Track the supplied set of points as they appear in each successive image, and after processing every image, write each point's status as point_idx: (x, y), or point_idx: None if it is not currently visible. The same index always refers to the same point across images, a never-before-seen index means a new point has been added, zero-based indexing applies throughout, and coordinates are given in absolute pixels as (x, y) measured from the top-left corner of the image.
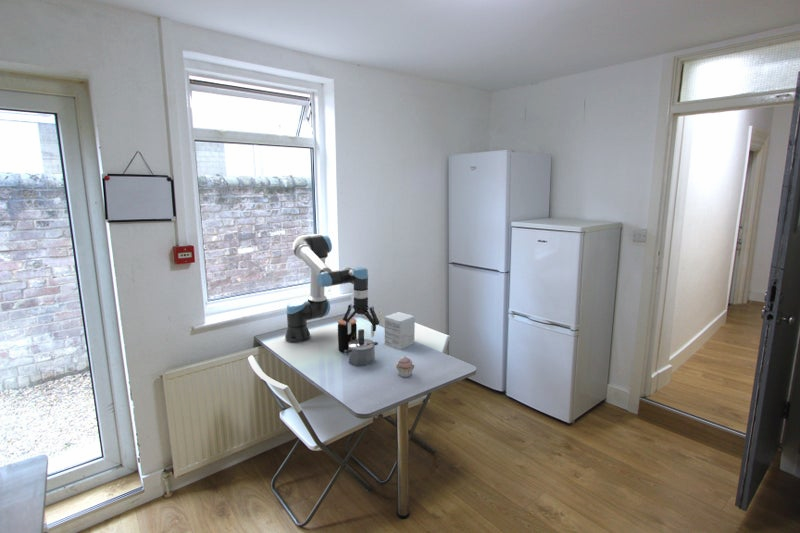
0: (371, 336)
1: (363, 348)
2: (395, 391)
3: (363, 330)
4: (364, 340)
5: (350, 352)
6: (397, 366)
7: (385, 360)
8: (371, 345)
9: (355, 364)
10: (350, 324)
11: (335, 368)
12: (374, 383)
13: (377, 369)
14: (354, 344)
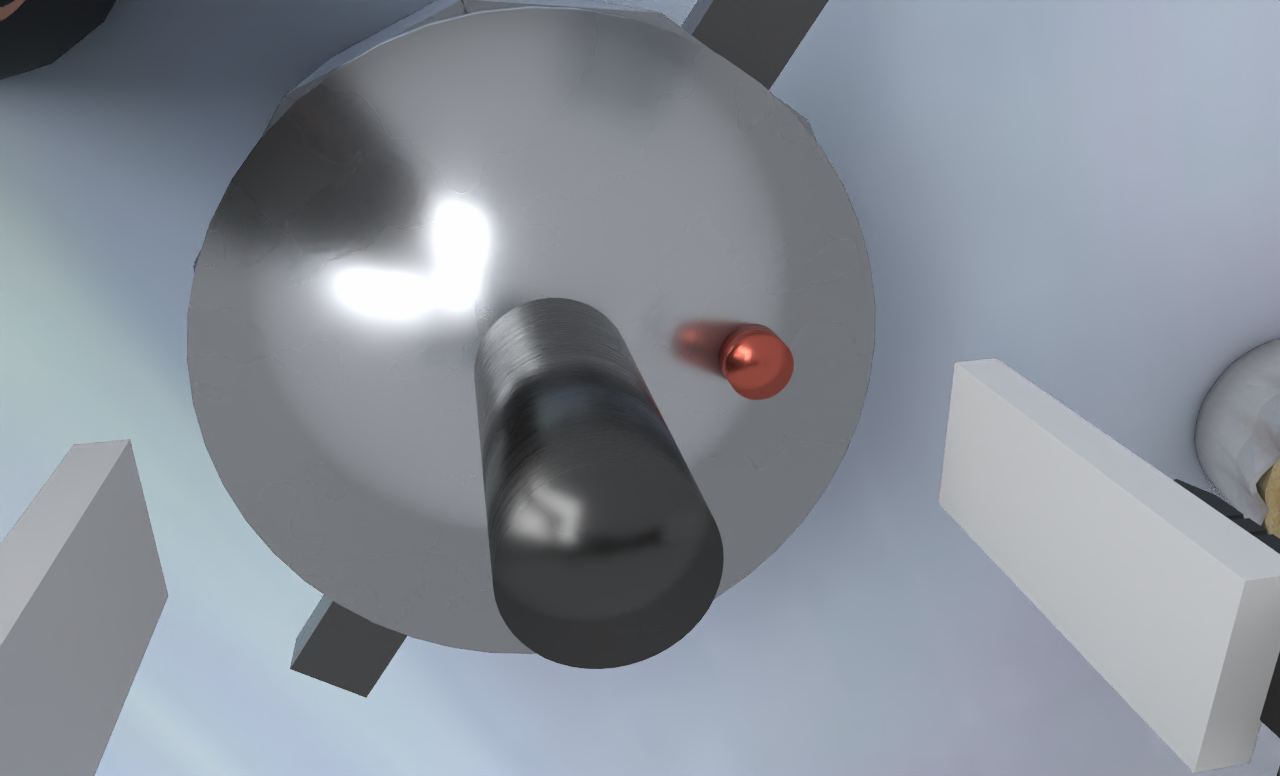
0: (961, 516)
1: (725, 586)
2: None
3: (702, 550)
4: (538, 150)
5: None
6: (1270, 524)
7: (916, 67)
8: (837, 376)
9: None
10: (14, 711)
11: (268, 644)
12: (946, 732)
13: (880, 420)
14: (421, 491)
